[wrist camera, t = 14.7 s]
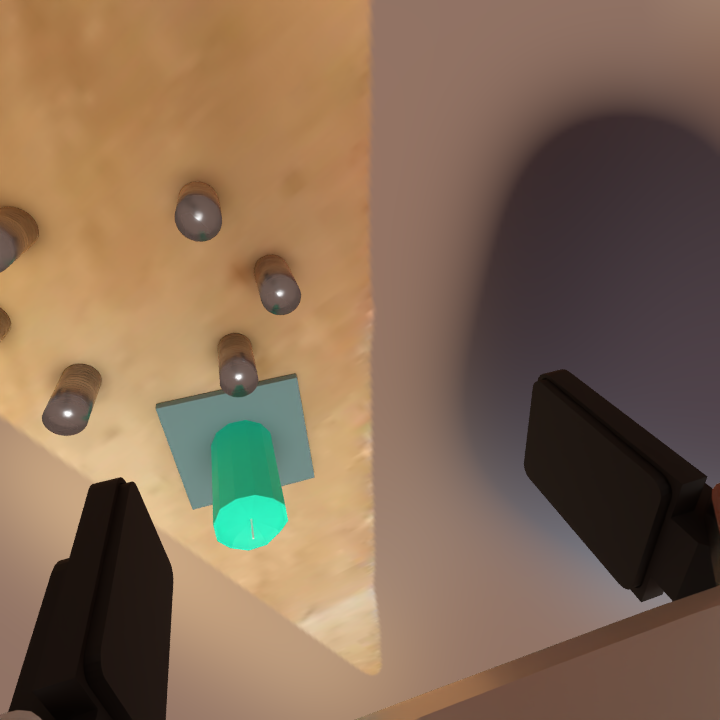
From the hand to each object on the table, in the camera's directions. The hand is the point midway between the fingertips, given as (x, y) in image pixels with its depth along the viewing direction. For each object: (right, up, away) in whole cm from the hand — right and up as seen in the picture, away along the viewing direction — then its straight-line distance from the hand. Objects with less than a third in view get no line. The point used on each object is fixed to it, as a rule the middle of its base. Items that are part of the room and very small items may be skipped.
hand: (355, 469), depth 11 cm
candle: (-12, -6, +37) cm, 39 cm away
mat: (-12, -6, +38) cm, 40 cm away
